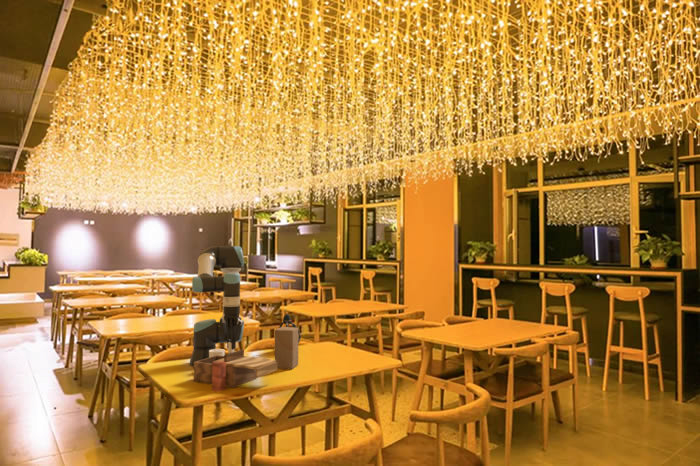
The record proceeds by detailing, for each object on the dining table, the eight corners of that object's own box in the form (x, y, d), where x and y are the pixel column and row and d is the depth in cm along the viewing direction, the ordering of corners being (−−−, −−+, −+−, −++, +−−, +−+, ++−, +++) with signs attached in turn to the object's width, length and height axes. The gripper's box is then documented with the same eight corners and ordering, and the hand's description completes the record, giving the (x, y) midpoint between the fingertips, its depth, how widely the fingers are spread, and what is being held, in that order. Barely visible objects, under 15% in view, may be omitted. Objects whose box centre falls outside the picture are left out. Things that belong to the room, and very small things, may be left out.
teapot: (284, 355, 267) (284, 315, 268) (266, 348, 287) (267, 311, 288) (302, 352, 274) (302, 314, 275) (284, 345, 294) (284, 309, 295)
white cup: (216, 372, 229) (216, 352, 229) (205, 370, 233) (205, 351, 233) (227, 369, 235) (227, 349, 236) (217, 367, 240) (217, 348, 240)
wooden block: (292, 369, 234) (292, 330, 235) (274, 368, 236) (274, 329, 237) (298, 364, 244) (298, 327, 245) (280, 364, 246) (281, 326, 247)
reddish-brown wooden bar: (218, 388, 203) (218, 360, 203) (225, 389, 201) (225, 361, 201) (212, 390, 199) (212, 362, 200) (219, 391, 197) (219, 363, 198)
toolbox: (193, 381, 213) (193, 362, 214) (217, 373, 228) (217, 355, 228) (233, 387, 203) (233, 367, 203) (255, 378, 217) (256, 359, 217)
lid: (212, 371, 209) (212, 354, 209) (234, 364, 222) (234, 348, 223) (257, 377, 198) (257, 359, 198) (277, 369, 211) (277, 353, 211)
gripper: (215, 305, 214) (215, 356, 213) (237, 307, 209) (236, 359, 207) (226, 304, 221) (226, 353, 220) (247, 305, 215) (247, 355, 214)
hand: (231, 355), depth 214 cm, fingers closed
